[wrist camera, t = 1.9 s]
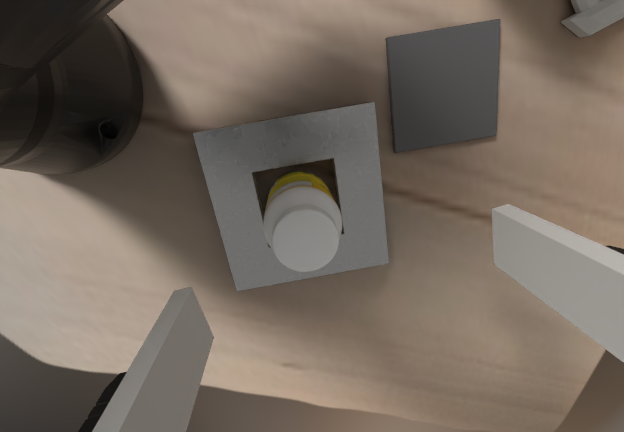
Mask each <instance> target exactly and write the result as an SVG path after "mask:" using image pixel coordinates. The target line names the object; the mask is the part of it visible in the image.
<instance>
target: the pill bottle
mask: <svg viewBox="0 0 624 432" xmlns="http://www.w3.org/2000/svg"><path fill="white" fill-rule="evenodd" d="M263 227H264V234H265V237H266V240H267V242H268V244H269V245H270V247H271V248H272V249H273V251H274V253H275V255H276V257H277V258H278V260H279V261H280V262H281V263H282V264H283V265H285V266H286V267H288V268H290V269H292V270H295V271H300V272H309V271H314V270H317V269H320V268H322V267H324V266H325V265H326V264H328V263H329V262H330V261H331V260H332V259H333V257H334V256H335V254H336V252H337V249H338V246H339V239H340V236H341V232H342V216H341V213H340V210H339V208H338V206H337V204H336V202H335V200H334V198H333V196H332V195H331V193H330V191H329V189H328V187H327V186H326V184H325V183H324V181H323V180H322V179H321V178H320V177H318V176H317V175H315V174H314V173H312V172H309V171H304V170H294V171H290V172H287V173H285V174H283V175H281V176H280V177H279V178H278V179H277V180H276V181H275V182H274V183H273V185H272V187H271V189H270V192H269V195H268V199H267V204H266V209H265V215H264V222H263Z"/></svg>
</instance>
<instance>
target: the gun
mask: <svg viewBox="0 0 624 432" xmlns="http://www.w3.org/2000/svg"><path fill="white" fill-rule="evenodd" d="M571 3H572V5H573V8H574V10H575V12H576V13H575V14H573V15H572V16H570V17H568V18H566V19H564V20H562V21H561V23H562V24H563V25H564V26H566V27H567V28H568V29H569V30H571V31H572V32H573V33H574V34H576V35H577V36H578V37H579V38H581V37H586V36H590V35H592V34H594V33H596V32H598V31H600V30H601V29H603V28H605V27H607V26H609V25H611V24H613V23H614V22H616V21H618V20H620V19H622V18H624V0H571Z"/></svg>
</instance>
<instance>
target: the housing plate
mask: <svg viewBox="0 0 624 432" xmlns="http://www.w3.org/2000/svg"><path fill="white" fill-rule="evenodd" d="M193 137H194V140H195V144H196V148H197V151H198V155H199V158H200V162H201V165H202V169H203V173H204V176H205V180H206V183H207V187H208V190H209V194H210V198H211V201H212V205H213V208H214V212H215V216H216V219H217V223H218V226H219V230H220V233H221V237H222V241H223V244H224V248H225V251H226V255H227V258H228V262H229V266H230V269H231V273H232V276H233V280H234V284H235V287H236V291H242V290H248V289H253V288H258V287H264V286H269V285H275V284H280V283H286V282H291V281H296V280H302V279H307V278H313V277H318V276H324V275H329V274H335V273H340V272H345V271H351V270H356V269H362V268H367V267H373V266H378V265H384V264H389V257H388V246H387V235H386V223H385V212H384V201H383V189H382V178H381V167H380V155H379V144H378V133H377V121H376V110H375V102H368V103H362V104H356V105H350V106H345V107H339V108H333V109H327V110H321V111H315V112H310V113H304V114H298V115H292V116H286V117H280V118H275V119H269V120H263V121H257V122H251V123H245V124H240V125H234V126H228V127H222V128H216V129H210V130H205V131H199V132H195V133H193ZM326 159H332V166H333V173H334V180H335V187H336V194H337V202H338V208H339V210H340V213H341V216H342V232H341V236H340V239H339V246H338V249H337V252H336V254H335V256H334V257H333V259H332V260H331V261H330V262H329V263H328V264H326V265H325V266H324V267H322V268H320V269H317V270H314V271H309V272H300V271H295V270H292V269H290V268H288V267H286V266H285V265H283V264H282V263H281V262H280V261H279V260H278V258H277V257H276V255H275V253H274V251H273V249H272V248H271V247H270V245H269V244H268V242H267V240H266V237H265V234H264V227H263V222H264V212H263V208H262V203H261V199H260V194H259V190H258V185H257V181H256V176H255V172H257V171H263V170H268V169H274V168H280V167H286V166H291V165H297V164H303V163H308V162H314V161H320V160H326Z"/></svg>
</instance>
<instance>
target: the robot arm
mask: <svg viewBox="0 0 624 432" xmlns="http://www.w3.org/2000/svg"><path fill="white" fill-rule="evenodd" d="M122 1H123V0H0V168H4V169H11V170H18V171H25V172H32V173H39V174H67V173H74V172H78V171H82V170H85V169H88V168H92V167H95V166H98V165H100V164H103V163H105V162H107V161H108V160H110V159H112V158H113V157H115V156H116V155H117V154H118V153H120V152H121V151H122V150H123V149H124V148H125V146H126V145H127V144H128V143H129V141H130V140H131V138H132V137H133V135H134V133H135V131H136V129H137V127H138V124H139V121H140V117H141V112H142V103H143V92H142V82H141V77H140V73H139V69H138V66H137V63H136V60H135V57H134V55H133V53H132V51H131V49H130V47H129V45H128V43H127V41H126V40H125V38H124V36H123V35H122V33H121V32H120V30H119V29H118V28H117V26H116V25H115V24H114V23H113V22H112V20H111V19H110V18H109V17H108V16H107V15H106V14H107V13H109V12H110V11H111V10H112V9H114V8H115V7H116V6H117V5H118V4H120V3H121V2H122ZM492 230H493V251H494V265H496V266H497V267H498V268H500V269H501V270H502V271H504V272H505V273H506V274H508V275H509V276H510V277H511V278H513V279H514V280H515V281H517V282H518V283H519V284H521V285H522V286H523V287H525V288H526V289H527V290H529V291H530V292H531V293H533V294H534V295H535V296H537V297H538V298H539V299H540V300H542V301H543V302H544V303H546V304H547V305H548V306H550V307H551V308H552V309H554V310H555V311H556V312H558V313H559V314H560V315H562V316H563V317H564V318H566V319H567V320H568V321H569V322H571V323H572V324H573V325H575V326H576V327H577V328H579V329H580V330H581V331H583V332H584V333H585V334H587V335H588V336H589V337H591V338H592V339H593V340H595V341H596V342H597V343H598V344H600V345H601V346H602V347H604V348H605V349H606V350H608V351H609V352H610V353H612V354H613V355H614V356H616V357H617V358H618V359H620V360H621V361H622V362H624V249H621V248H617V247H613V246H603V245H601V244H599V243H596V242H594V241H592V240H589V239H587V238H585V237H583V236H580V235H578V234H576V233H574V232H571V231H569V230H567V229H565V228H562V227H560V226H558V225H555V224H553V223H551V222H549V221H546V220H544V219H542V218H540V217H537V216H535V215H533V214H531V213H528V212H526V211H524V210H522V209H519V208H517V207H515V206H512V205H510V204H507V205H503V206H499V207H495V208H492ZM213 339H214V336H213V334H212V332H211V329H210V327H209V325H208V323H207V320H206V318H205V316H204V314H203V311H202V309H201V307H200V304H199V302H198V300H197V298H196V295H195V293H194V291H193V288H192V287H188V288H184V289H180V290H176V291H174V292H173V294H172V296H171V297H170V299H169V301H168V302H167V304H166V306H165V308H164V309H163V311H162V313H161V314H160V316H159V318H158V320H157V321H156V323H155V325H154V326H153V328H152V330H151V332H150V333H149V335H148V337H147V338H146V340H145V342H144V344H143V345H142V347H141V349H140V350H139V352H138V354H137V356H136V357H135V359H134V361H133V362H132V364H131V366H130V368H129V369H128V371H127V372H124V373H120V374H119V375H118V376H117V377H116V378H115V379H114V380H113V381H112V382H111V383H110V384H109V385H108V386H107V387H106V388H105V390H104V392H103V393H102V395H101V396H100V398H99V399H98V401H97V403H96V406H95V407H94V408H93V409H92V411H91V412H90V414H89V415H88V419H87V420H85V422H84V423H83V425H82V427H81V428H80V430H79V431H78V432H186V429H187V426H188V423H189V419H190V416H191V412H192V409H193V406H194V403H195V399H196V396H197V392H198V389H199V386H200V382H201V379H202V376H203V372H204V369H205V365H206V362H207V359H208V355H209V352H210V349H211V345H212V342H213Z"/></svg>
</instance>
